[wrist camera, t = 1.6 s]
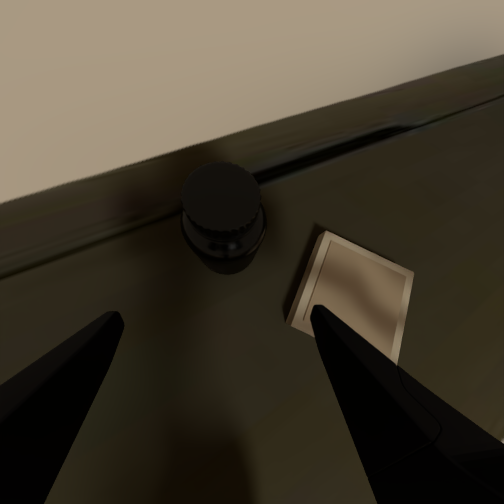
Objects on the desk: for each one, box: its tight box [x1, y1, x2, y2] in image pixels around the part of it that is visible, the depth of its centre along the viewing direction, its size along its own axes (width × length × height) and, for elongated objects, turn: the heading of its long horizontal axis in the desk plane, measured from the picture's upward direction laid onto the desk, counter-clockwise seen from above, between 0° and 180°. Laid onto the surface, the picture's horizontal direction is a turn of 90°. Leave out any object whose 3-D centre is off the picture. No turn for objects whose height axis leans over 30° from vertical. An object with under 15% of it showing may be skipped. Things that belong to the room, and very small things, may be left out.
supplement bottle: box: [181, 161, 267, 275], centre depth 16 cm, size 7×7×12 cm
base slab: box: [286, 231, 414, 365], centre depth 21 cm, size 12×12×2 cm
